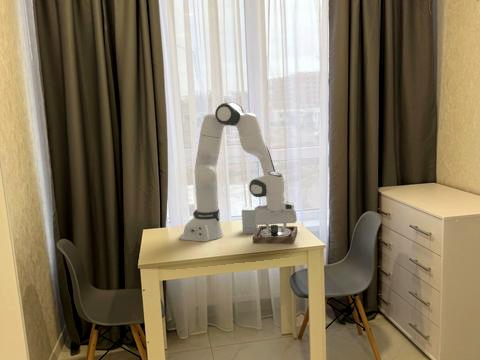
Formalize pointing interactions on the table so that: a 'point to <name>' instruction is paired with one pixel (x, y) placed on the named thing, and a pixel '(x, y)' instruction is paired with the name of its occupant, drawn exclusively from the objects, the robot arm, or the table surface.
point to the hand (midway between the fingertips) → (276, 232)
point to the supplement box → (249, 220)
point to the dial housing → (275, 239)
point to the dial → (275, 232)
